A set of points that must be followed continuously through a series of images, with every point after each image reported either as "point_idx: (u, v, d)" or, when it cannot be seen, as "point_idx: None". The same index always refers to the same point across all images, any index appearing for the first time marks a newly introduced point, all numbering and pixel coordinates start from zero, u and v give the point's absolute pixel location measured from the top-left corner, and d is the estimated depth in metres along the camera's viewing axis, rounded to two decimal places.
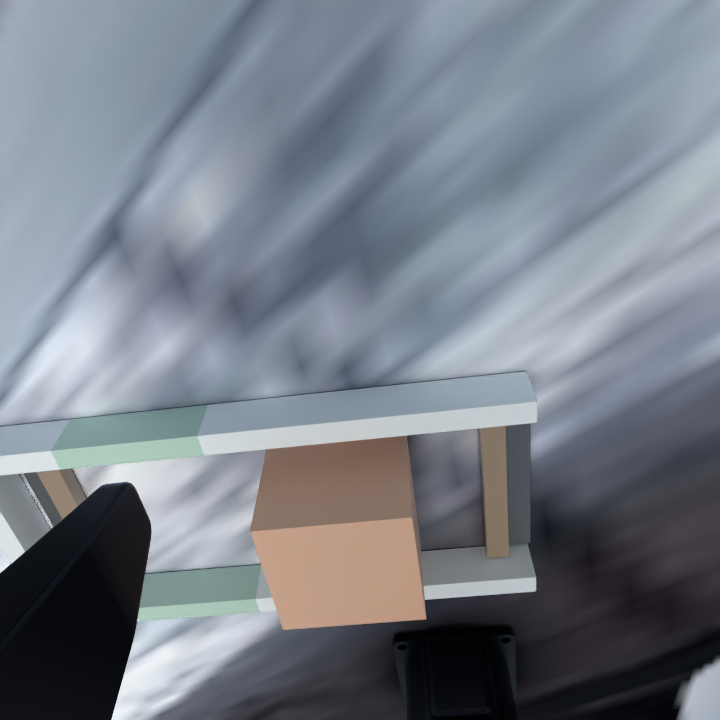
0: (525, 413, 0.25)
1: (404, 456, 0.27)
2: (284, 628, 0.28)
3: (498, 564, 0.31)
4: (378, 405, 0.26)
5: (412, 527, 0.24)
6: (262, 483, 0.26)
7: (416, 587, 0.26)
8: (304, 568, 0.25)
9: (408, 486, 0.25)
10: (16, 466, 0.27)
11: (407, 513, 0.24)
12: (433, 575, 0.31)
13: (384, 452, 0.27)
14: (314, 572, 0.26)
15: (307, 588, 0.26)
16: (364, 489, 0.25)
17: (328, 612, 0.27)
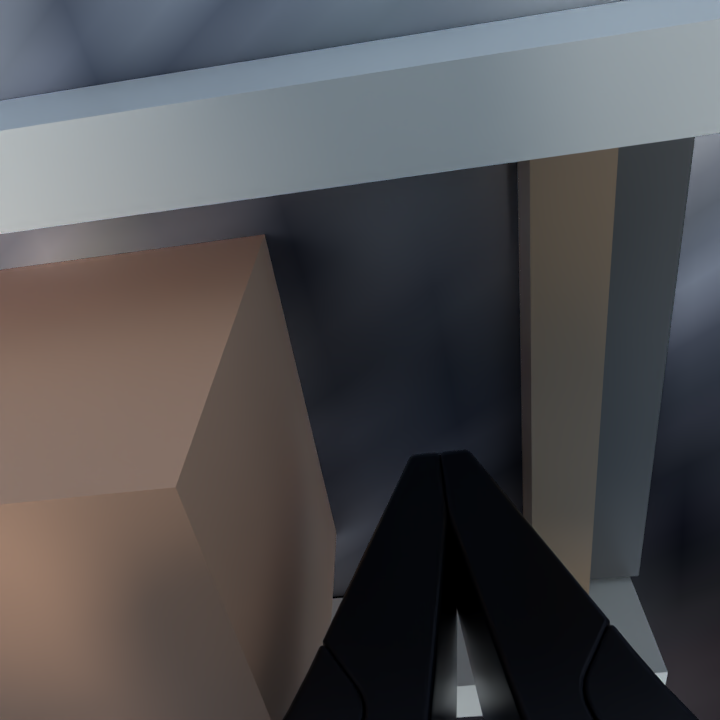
0: None
1: (235, 288, 0.08)
2: None
3: None
4: (155, 93, 0.07)
5: (191, 535, 0.05)
6: None
7: None
8: None
9: (211, 370, 0.06)
10: None
11: (161, 471, 0.05)
12: None
13: (176, 283, 0.08)
14: None
15: None
16: (47, 386, 0.06)
17: None
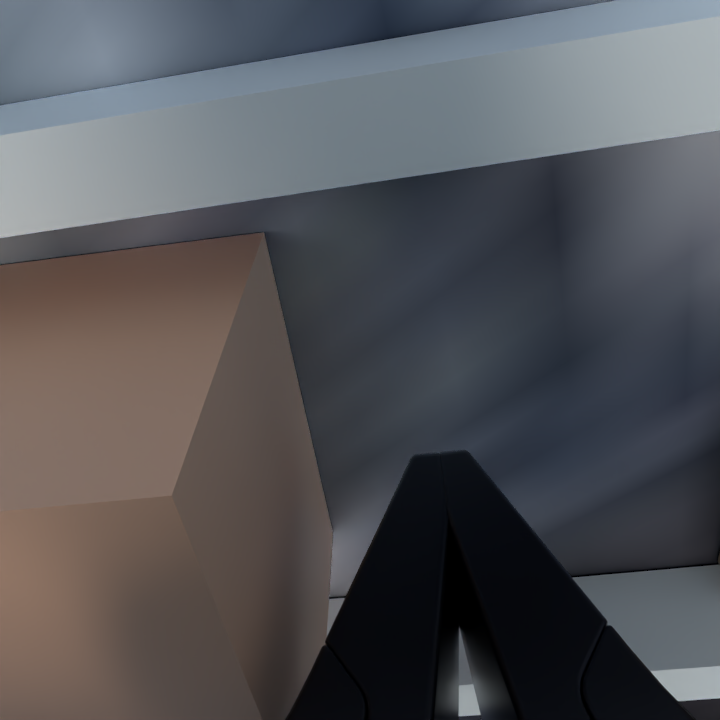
0: None
1: (232, 289, 0.08)
2: None
3: None
4: (501, 39, 0.07)
5: (187, 544, 0.05)
6: None
7: None
8: None
9: (208, 374, 0.06)
10: None
11: (157, 478, 0.05)
12: None
13: (174, 284, 0.08)
14: None
15: None
16: (40, 390, 0.06)
17: None
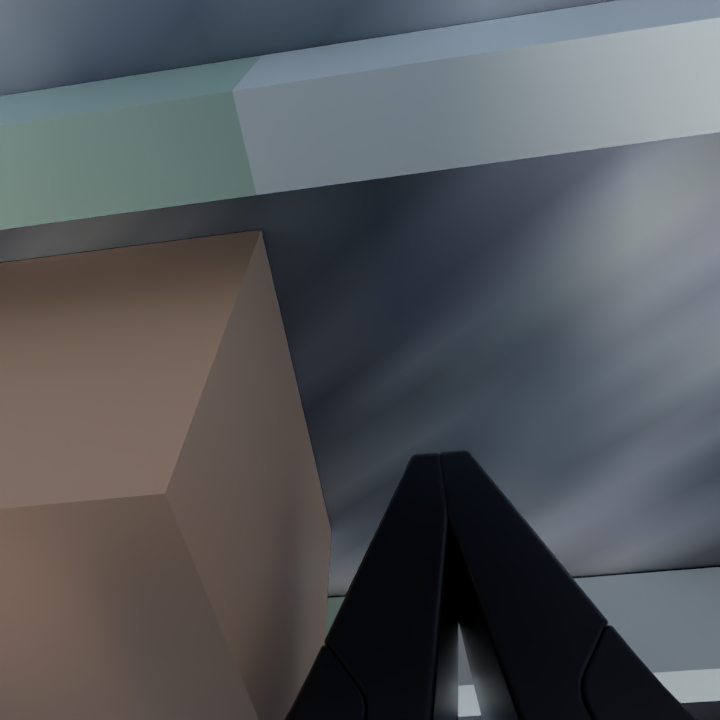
0: None
1: (229, 287, 0.08)
2: None
3: None
4: None
5: (182, 542, 0.05)
6: None
7: None
8: None
9: (204, 372, 0.06)
10: None
11: (151, 477, 0.05)
12: None
13: (169, 282, 0.08)
14: None
15: None
16: (34, 388, 0.06)
17: None
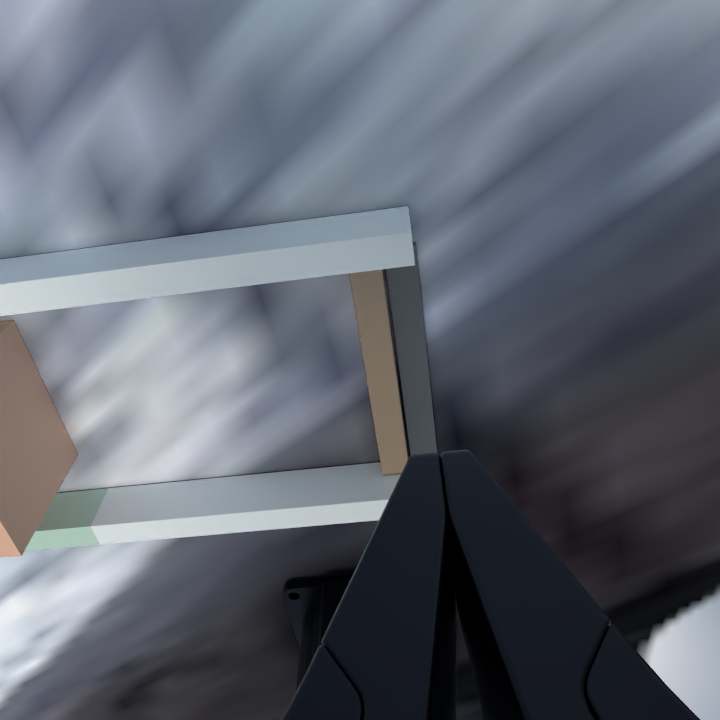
0: (398, 250, 0.18)
1: None
2: None
3: (395, 481, 0.24)
4: (207, 248, 0.19)
5: None
6: None
7: None
8: None
9: None
10: None
11: None
12: (313, 495, 0.24)
13: None
14: None
15: None
16: None
17: None
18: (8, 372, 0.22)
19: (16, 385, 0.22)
